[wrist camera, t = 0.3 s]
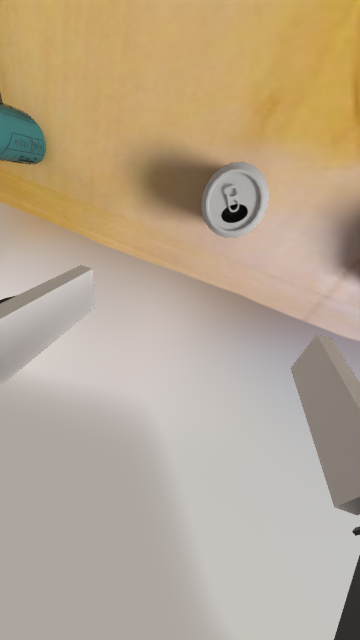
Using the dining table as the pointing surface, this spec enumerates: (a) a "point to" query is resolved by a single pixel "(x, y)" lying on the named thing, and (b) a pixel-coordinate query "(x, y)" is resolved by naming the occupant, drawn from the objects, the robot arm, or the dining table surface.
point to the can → (235, 199)
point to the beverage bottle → (20, 137)
